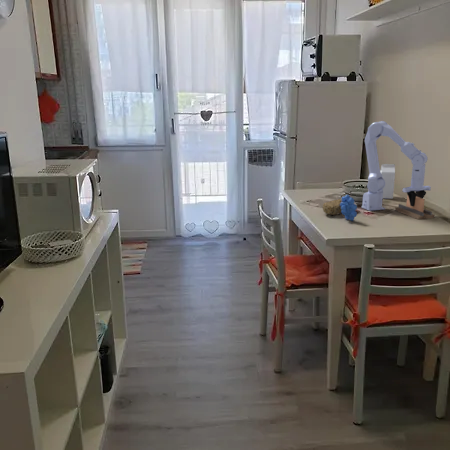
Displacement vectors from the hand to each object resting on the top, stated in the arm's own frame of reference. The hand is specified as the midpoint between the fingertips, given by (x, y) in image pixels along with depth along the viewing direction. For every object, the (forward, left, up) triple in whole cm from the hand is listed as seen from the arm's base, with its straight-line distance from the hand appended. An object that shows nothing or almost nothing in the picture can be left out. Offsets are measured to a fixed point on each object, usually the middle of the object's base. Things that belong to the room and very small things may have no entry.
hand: (415, 205), depth 229 cm
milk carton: (+8, +36, -4) cm, 37 cm away
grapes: (-37, +1, -4) cm, 37 cm away
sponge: (-34, +15, -5) cm, 37 cm away
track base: (0, 0, -4) cm, 4 cm away
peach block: (0, 0, -3) cm, 3 cm away
